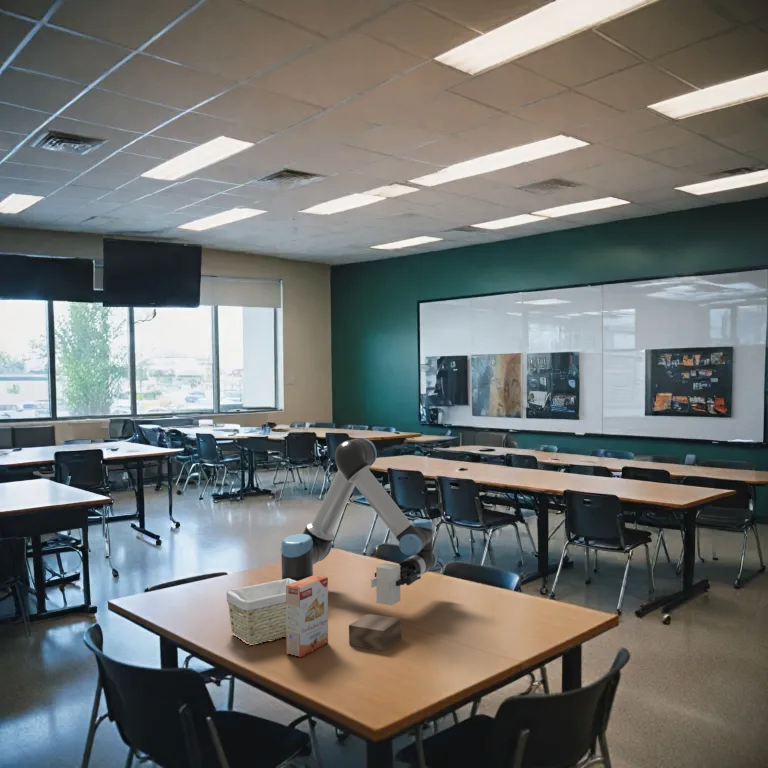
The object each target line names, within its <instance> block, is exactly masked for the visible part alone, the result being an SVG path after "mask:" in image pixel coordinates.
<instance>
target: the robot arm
mask: <svg viewBox="0 0 768 768" xmlns="http://www.w3.org/2000/svg"><path fill="white" fill-rule="evenodd" d="M377 451H378V450H377V449H376V446H375V444H374V443H373V441H371V440H369V439H367V438H364V437H356V438H353V439H350V440H344V441H342V442H341V443H339V445H338V446H337V447H336V449H335V453H334V459H335V464H336V468H337V472H336V473H335V476H334V478H333V480H332V482H331V485H330V486H329V488H328V490H327V491H326V494H325V497H324V498H323V501H322V503H321V505H320V507H319V509H318V511H317V512H316V515H315V517H314V519H313V521H311V522H309V523H307V525H306V526H305V528H304V530H303V533H295V534H291V535H288V536H286V537H284V538H283V539H282V541H281V547H280V555H281V558H280V559H281V560H280V561H281V580H283V579H287V578H290V579H292V580H295V581H299V580H302V579H305V578H307V577H310V576H313V575H314V565H315V564H317V563H319V562H320V561H323V560H324V559H325V558H327V556H329V554H330V552H331V550H332V547H333V543H332V542H333V539H334V537H335V536H334V533H333V532H334V529H335V528H336V526H337V524H338V521H339V520H340V517H341V516H342V513H343V511H344V510H345V507H346V505H347V503H348V501H349V499H350V497H351V496H352V493H353V492H354V489H355V488H356V489H357V490H358V491H359V493H360V494H361V495H362V497H363V498H364V499H365V500H366V501H367V503H368V505H369V506H370V507H371V508H372V510H373V511H374V512H375V513H376V514H377V515H378V517H379V518H380V520H381V521H382V522H383V523H384V525H385V526H386V527H387V529H388V530H389V532H390V533H391V534H392V535H393V536H394V538H396V541H398V547H399V550H400V551H401V553H402V554H403V555H404V556H408V557H407V558H406V559H403V560H402V561H401V562H399V564H398V565H400V577H397V578H395V579H393V580H391V581H390V582H389V590H392V589H394V588H396V587H398V586H400V587H401V586H404V585H405V584H406V586H410V585H412V584H413V583H414V582H416V581H417V580H421V578H422V577H421V575H424V574H425V573H427V572H430V571H431V570H432V569H433V568H435V566H436V565H437V562H438V557H437V555H436V553H435V552H434V551H433V550H434V549H433V545H434V544H433V543H434V541H433V539H434V538H433V532H434V529H433V521H432V520H430V519H426V518H425V519H424V518H422V519H419V518H417V519H415V520H413V521H412V523H411V521H410V520H409V519H408V518H407V516H406V514H405V513H403V511H402V509H400V507H399V506H398V504H396V502H395V501H394V500H393V499H392V497H391V496H390V494H389V493H388V492H387V491H386V488H384V487H383V485H382V483H380V482H379V480H378V479H377V478H376V476H374V474H373V473H372V472H371V470H370V467H371V466H373V464H375V462H376V459H377V457H378V455H377V454H378V452H377ZM370 579H371V580H370V581H371V583H370V584H371V586H370V587H371V588H375V587H376V572H374V577H373V578H370Z"/></svg>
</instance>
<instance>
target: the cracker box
mask: <svg viewBox="0 0 768 768" xmlns="http://www.w3.org/2000/svg"><path fill="white" fill-rule="evenodd" d="M328 580H329V577H327V576H322V575H317V574H313V576H310V577H307V578H305V579H302V580H299V581H297V582H294V583H291V584H289V585H286V637H285V638H286V641H285V642H286V644H285V645H286V646H285V647H286V648H285V649H286V653H288V654H291V655H290V656H292V655H295V656H294V657H296V656H299V657H298V658H300V657H301V656H302V657H304V656H306V655H308V654H310V653H312V652H313V651H312V650H314V651H316V650H317V648H318V647H320V648H322V647H323V645H324V644H326V643H327V644H328V643H329V591H328V590H329V581H328ZM327 644H326V645H327ZM321 646H322V647H321ZM324 646H325V645H324ZM315 649H316V650H315ZM318 649H319V648H318ZM311 651H312V652H311ZM309 652H310V653H309ZM307 653H308V654H307ZM288 654H287V655H288ZM305 654H306V655H305ZM303 655H304V656H303ZM302 657H301V658H302Z"/></svg>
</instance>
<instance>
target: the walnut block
mask: <svg viewBox="0 0 768 768" xmlns="http://www.w3.org/2000/svg"><path fill="white" fill-rule="evenodd" d="M400 638H401V639H402V619H401V618H398V617H390V616H385V615H384V616H383V615H377V614H371V613H367V614H365V615H364V616H361V617H360V618H359V619H357V620H355V621H353V622H352V623H350V624H348V644H350V645H349V646H354V645H355V647H360V646H361V647H360V648H367V649H370V650H376V649H377V651H382V650H383V651H382V652H384V651H385V650H387V649H388V648H390V647H391V646H392V645H394V644H395V643H396V642H398V641H399V640H401V639H400ZM398 639H399V640H398ZM397 640H398V641H397ZM395 641H396V642H395ZM394 642H395V643H394ZM393 643H394V644H393ZM390 645H391V646H390ZM386 648H387V649H386Z"/></svg>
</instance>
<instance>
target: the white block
mask: <svg viewBox="0 0 768 768" xmlns="http://www.w3.org/2000/svg"><path fill="white" fill-rule="evenodd" d="M375 568H376V570H375V573H376V586H375V587H376V591H375V593H376V594H375V595H376V596H375V597H376V603H377V604H383V605H387V606H394V605H396V604H397V603H399V602H401V585H400V586H398V587H396V588H394V589H392V590H389V582H390V581H391V580H393V579H395V578H397V577H400V565H399V564H395V563H394V564H393V563H389V562H388V563H386V562H384V563H381V564H380V565H378V566H376V567H375Z"/></svg>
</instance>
